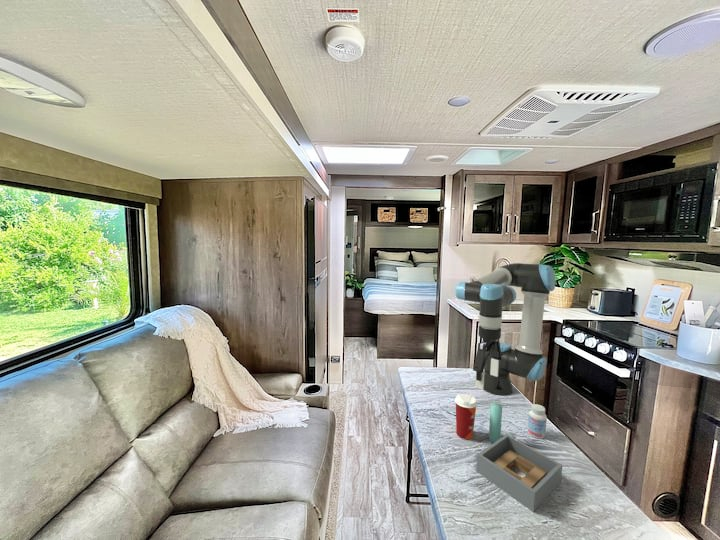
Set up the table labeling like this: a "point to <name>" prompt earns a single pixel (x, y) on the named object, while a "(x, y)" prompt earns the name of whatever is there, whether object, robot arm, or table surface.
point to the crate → (511, 483)
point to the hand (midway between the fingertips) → (487, 381)
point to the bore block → (521, 468)
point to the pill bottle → (537, 421)
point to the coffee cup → (465, 415)
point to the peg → (495, 422)
